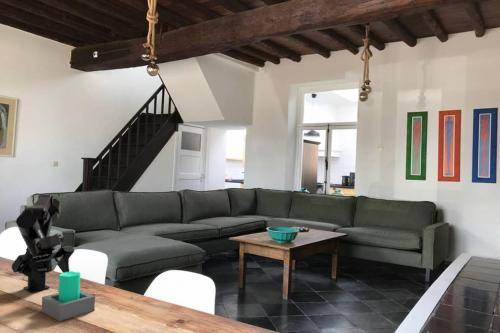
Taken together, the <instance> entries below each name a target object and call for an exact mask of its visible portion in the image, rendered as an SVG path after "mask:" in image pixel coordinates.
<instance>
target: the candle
mask: <svg viewBox="0 0 500 333" xmlns="http://www.w3.org/2000/svg"><path fill="white" fill-rule="evenodd" d="M58 280H59V282H58V293H59V302H61V303H65V302H69V301H73V300H77V299H80V290H81V272H78V271H77V272H76V271H72V270H69V272H65V273H63V272H62V273H60V274H58Z"/></svg>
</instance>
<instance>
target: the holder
mask: <svg viewBox="0 0 500 333" xmlns="http://www.w3.org/2000/svg"><path fill="white" fill-rule="evenodd" d="M95 303H96V295H93V294H91V293H88V292H86V291H83V290H81V289H80V299H77V300H73V301H69V302H65V303H61V302H59V292H57V293H53V294H48V295H44V296H42V297H41V313H43V314H46V315H47V316H49V317H51V318H53V319H55V320H56V321H59V322H62V321H65V320H68V319H72V318H75V317H78V316H82V315H84V314H88V313H92V312H94V311H95V310H96V308H95V306H96V304H95Z"/></svg>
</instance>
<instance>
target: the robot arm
mask: <svg viewBox="0 0 500 333" xmlns="http://www.w3.org/2000/svg"><path fill="white" fill-rule="evenodd" d="M61 213H62V205H61V202H60V201H59V200H58V199H57V198H55V197H54V195H52V194H40V195H38V198H37V200H36V201H35V203H34V204H33V205H30V206H27V207H25V208H24V210H23V211H22V212H21V214H20V215H18V217H17V218H16V220H15V223H16V226H17V228H18V230H19V232H20V235H21V237H22V239H23V241H24V242H25V245H26V249H25V253H24V254H20V255H18V256H17V257H16V259H15V260H14V261H13V263H12V264H11V269H12V271H13V273H18V274H20V275H24V276H26V277H27V286H23V290H25V291H27V292H29V293H34V292H39V291H44V290H47V289H50V286H49V285H46V283H47V282H46V278H47V273H48V274H49V273H50V272H52V271H53V262H52V260H54V261H55V262H56V265H57V267H58V268H59V270H61V272H62V273H65V272H70V264H69V261H70V258H71V256H72V255H73V254H74V253H75V249H74V247H73V246H72V245H66V246H60V247H59V249H58V250H57V251H56V252H54V251H55V250H56V249H57V246H59V245H62V243H63V242H65V240H66V239H65V236H64V235H63V233H62V232H56V233H55V234H54V235H50V234H51V231H52V226H53V223H54V222H56V221H57V220H58V218H59V215H60V214H61Z"/></svg>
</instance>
